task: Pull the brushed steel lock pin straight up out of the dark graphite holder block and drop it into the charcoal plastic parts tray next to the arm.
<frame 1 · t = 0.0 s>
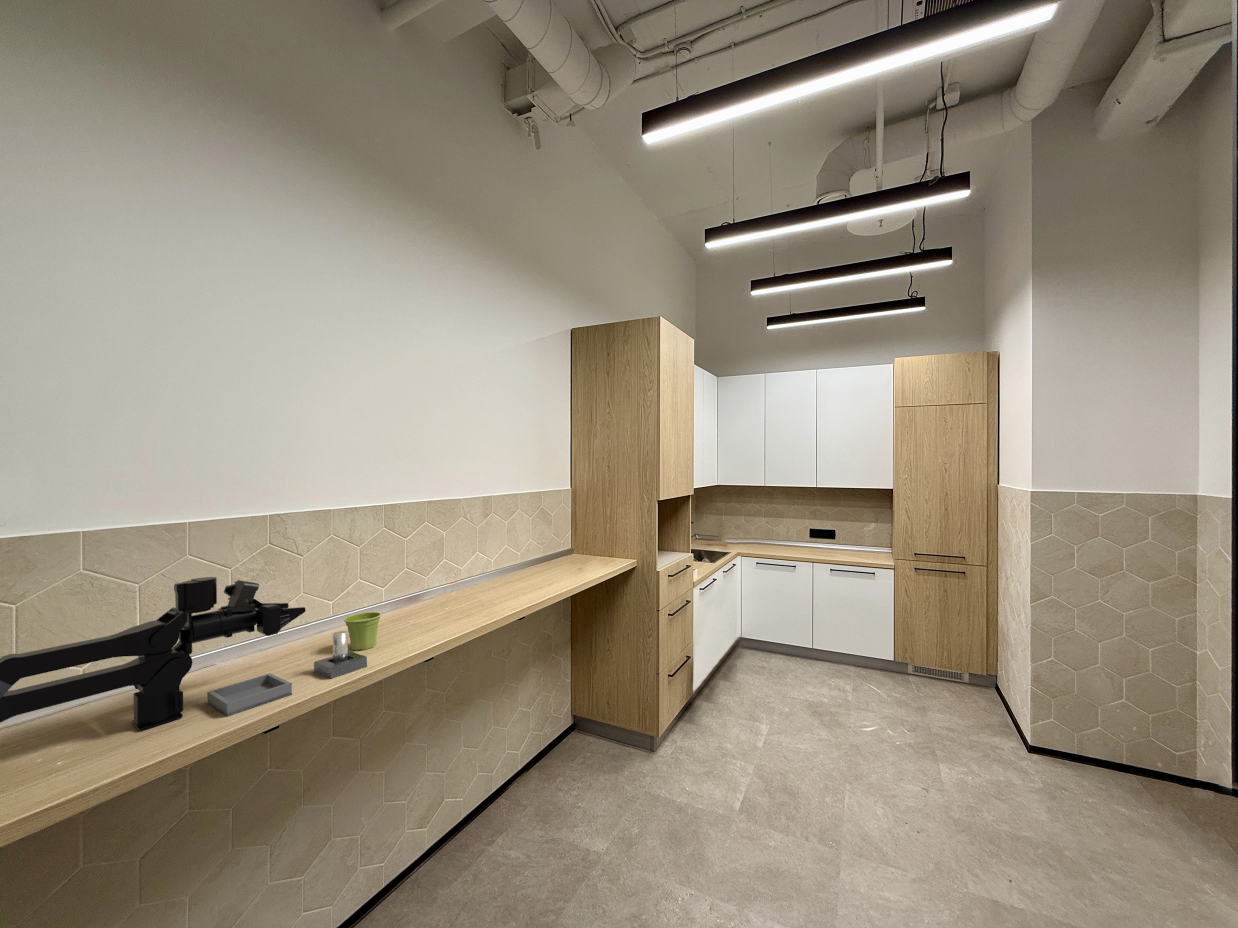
hand: (296, 607, 120), 17 cm above the worktop, tool horizontal, fingers open, 9 cm apart
parts tray: (250, 698, 107), on the worktop
plant pot: (363, 647, 139), on the worktop
lock pin: (340, 651, 123), in the pin holder
pin holder: (340, 669, 122), on the worktop
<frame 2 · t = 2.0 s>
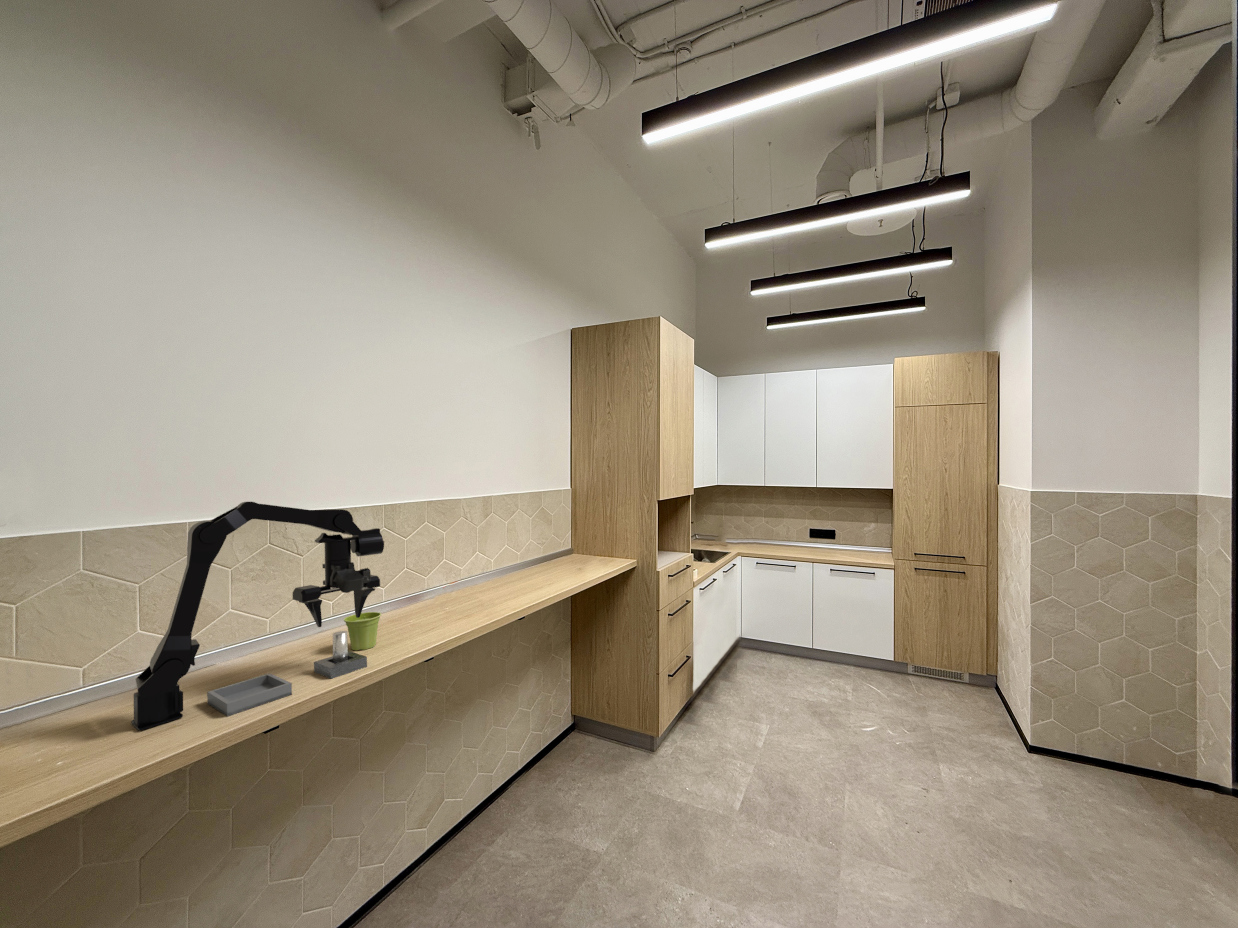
hand: (339, 622, 123), 12 cm above the worktop, tool pointing down, fingers open, 9 cm apart
nothing on the worktop moved.
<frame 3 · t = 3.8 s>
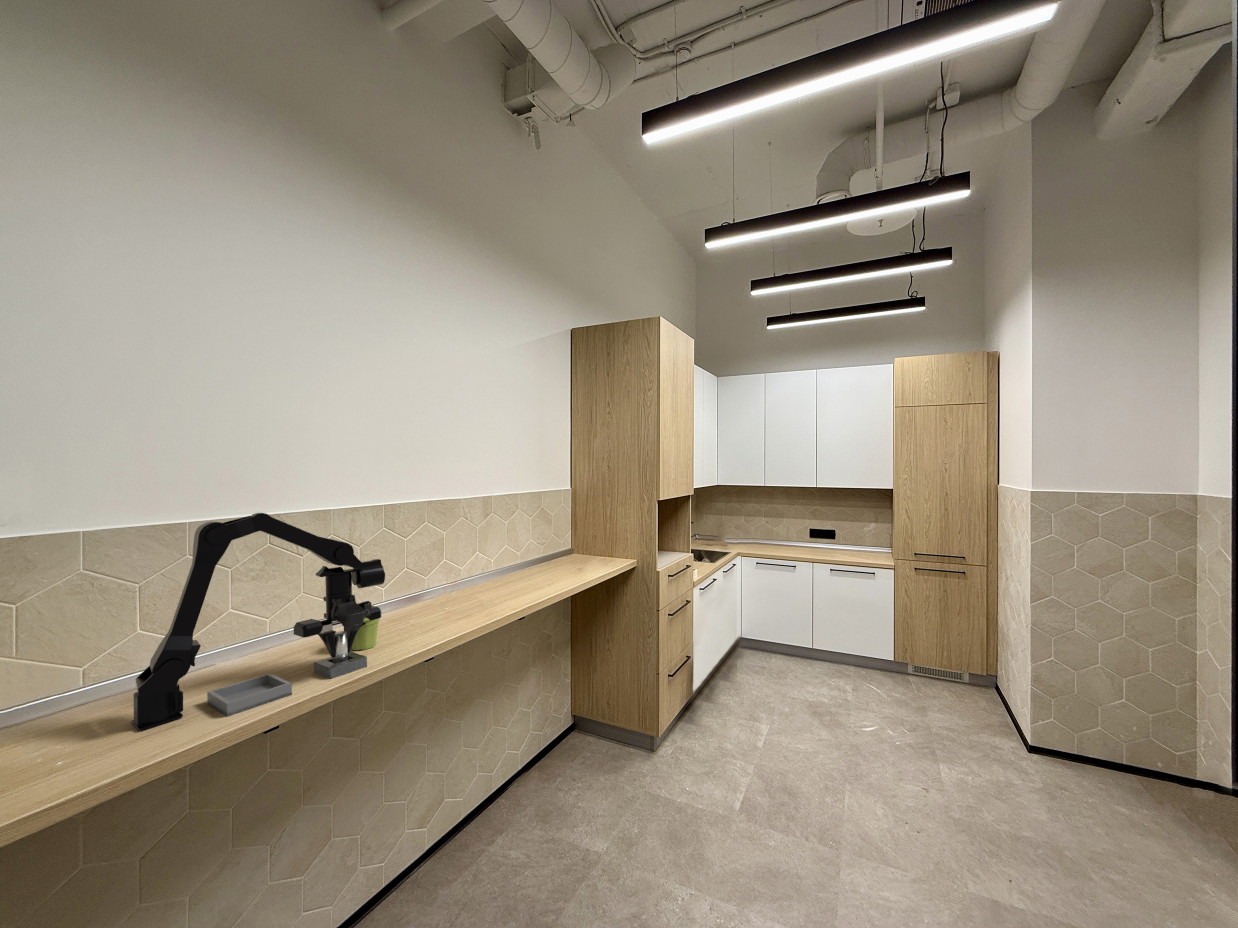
hand: (340, 654, 122), 4 cm above the worktop, tool pointing down, fingers closed on lock pin, 3 cm apart
lock pin: (340, 651, 123), in the pin holder, touching gripper
everything else where it was.
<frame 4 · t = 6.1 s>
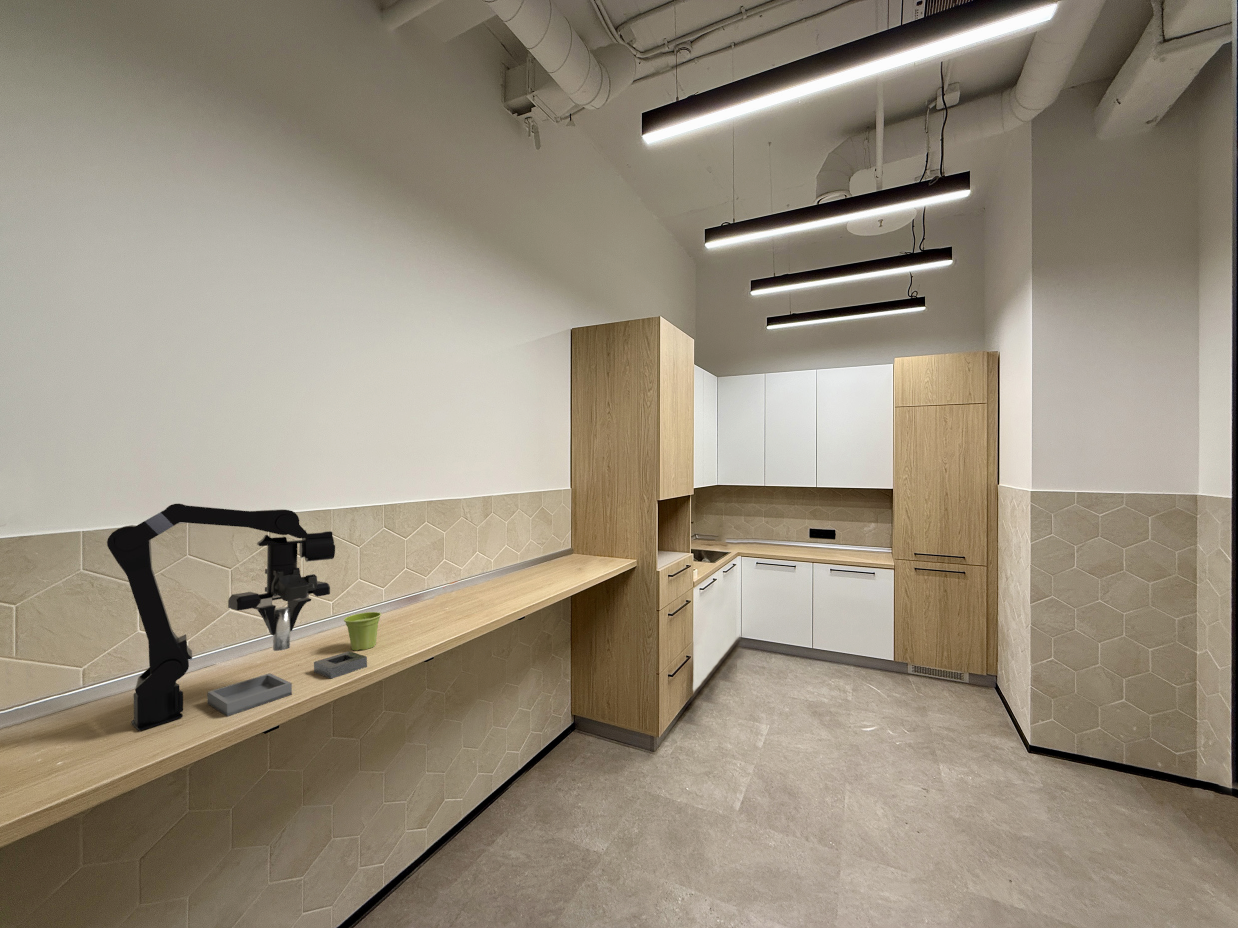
hand: (281, 632, 112), 12 cm above the worktop, tool pointing down, fingers closed on lock pin, 3 cm apart
lock pin: (281, 628, 112), point 14 cm above the worktop, touching gripper
everything else where it was.
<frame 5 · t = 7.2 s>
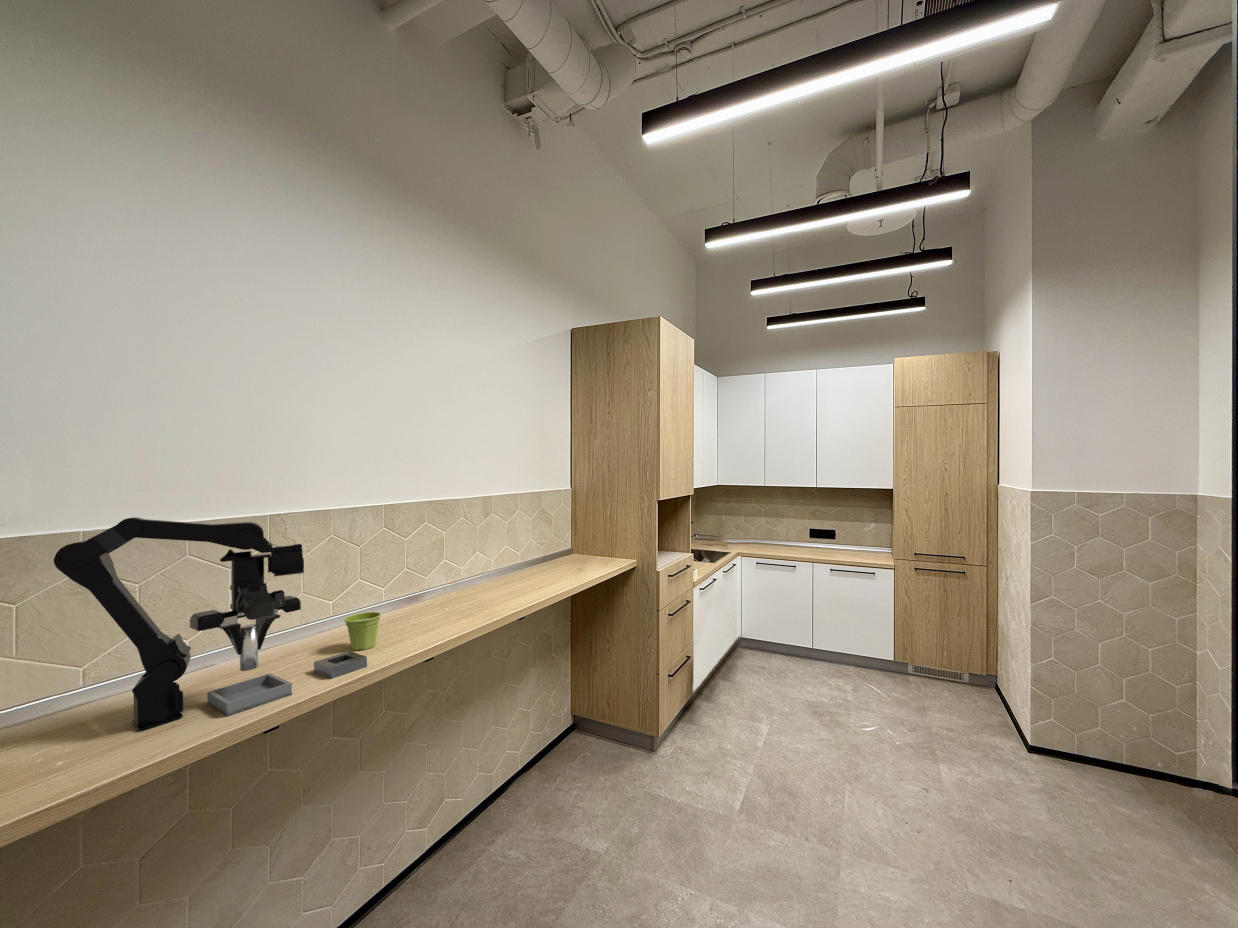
hand: (248, 651, 107), 10 cm above the worktop, tool pointing down, fingers closed on lock pin, 3 cm apart
lock pin: (248, 646, 107), point 11 cm above the worktop, touching gripper
everything else where it was.
when the fingers open (5 cm above the worktop, at t = 8.2 s): lock pin drops 1 cm, resting on parts tray.
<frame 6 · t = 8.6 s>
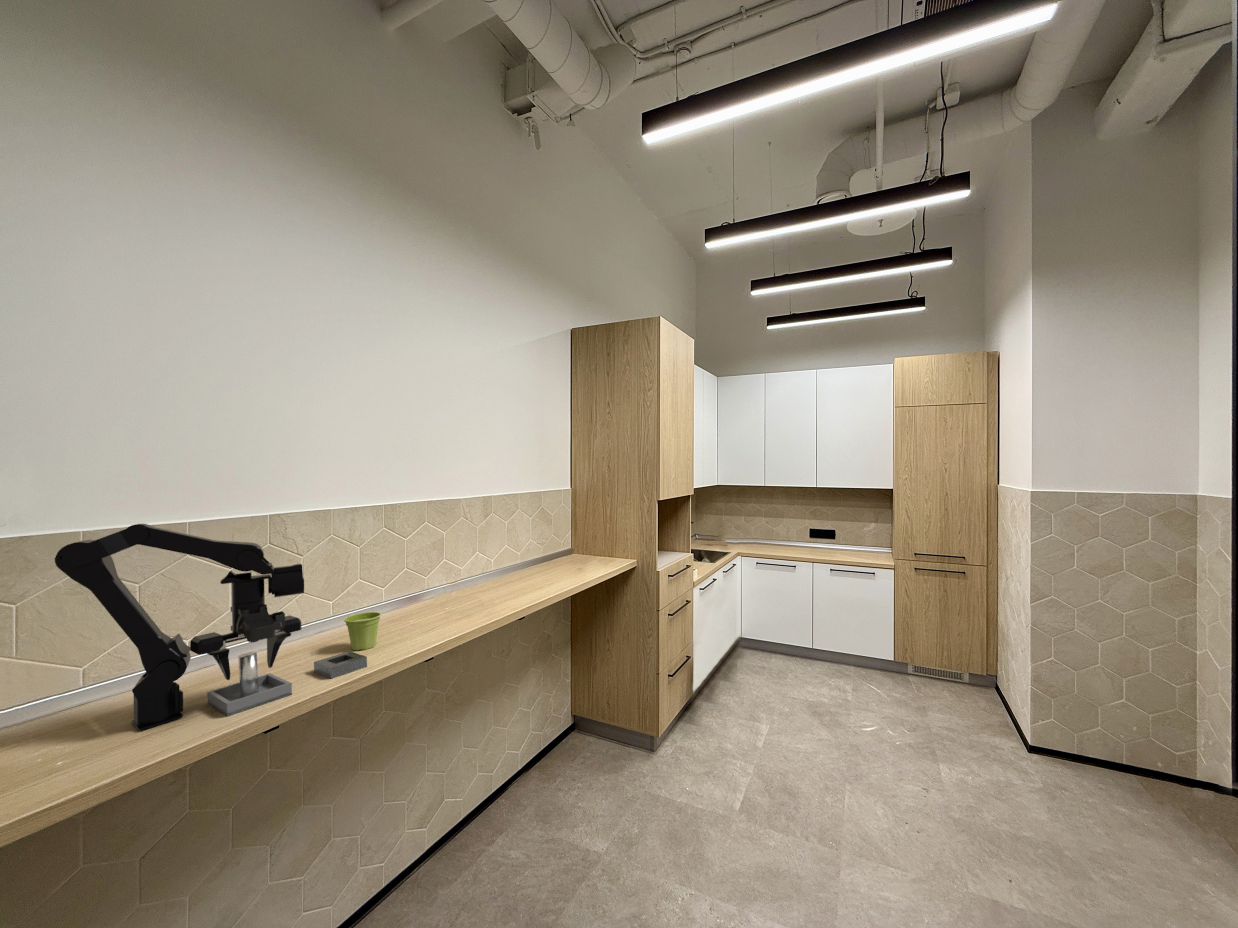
hand: (249, 673, 107), 5 cm above the worktop, tool pointing down, fingers open, 7 cm apart
lock pin: (248, 675, 107), in the parts tray, point 5 cm above the worktop
everything else where it was.
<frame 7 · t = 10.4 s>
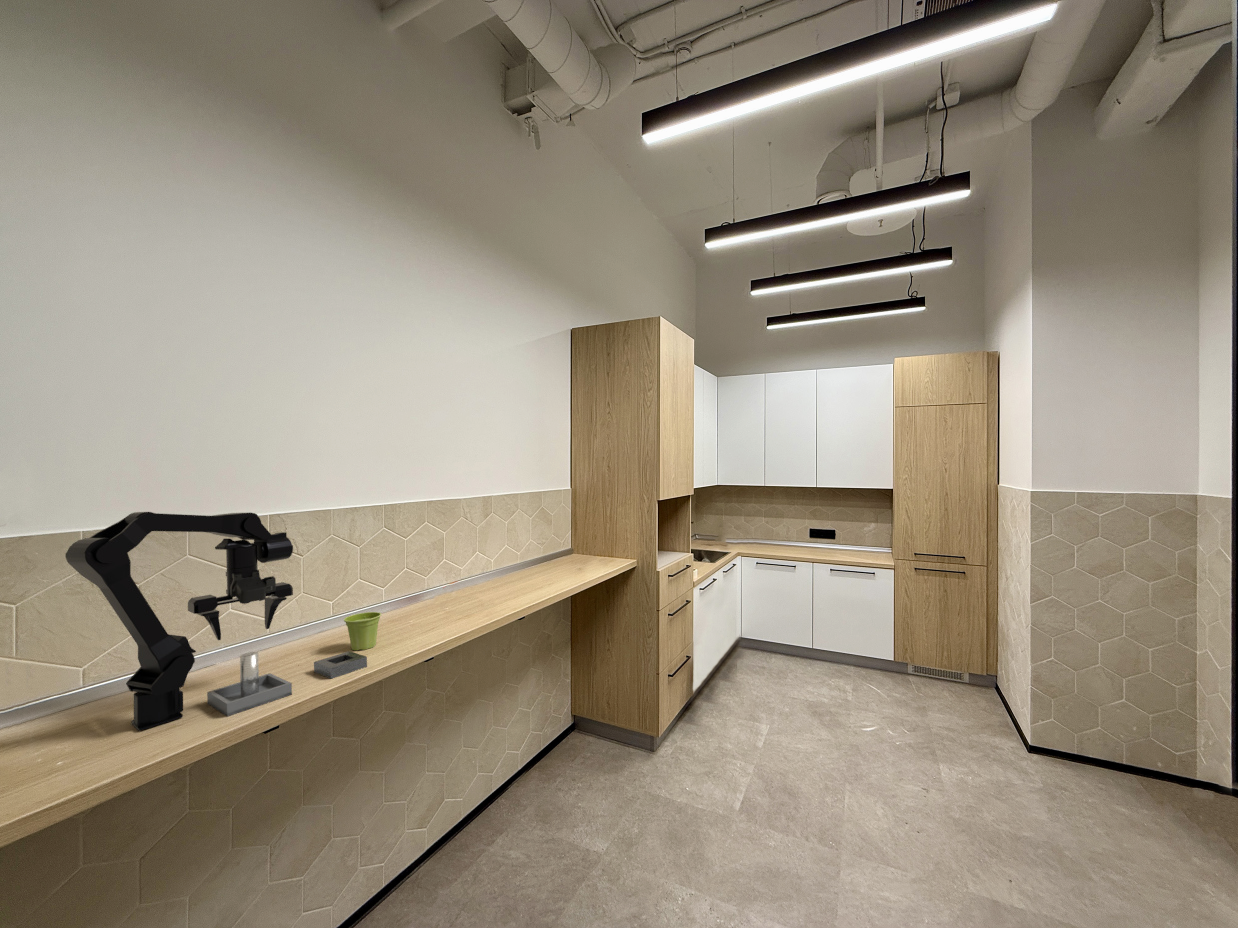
hand: (243, 634, 114), 12 cm above the worktop, tool pointing down, fingers open, 9 cm apart
nothing on the worktop moved.
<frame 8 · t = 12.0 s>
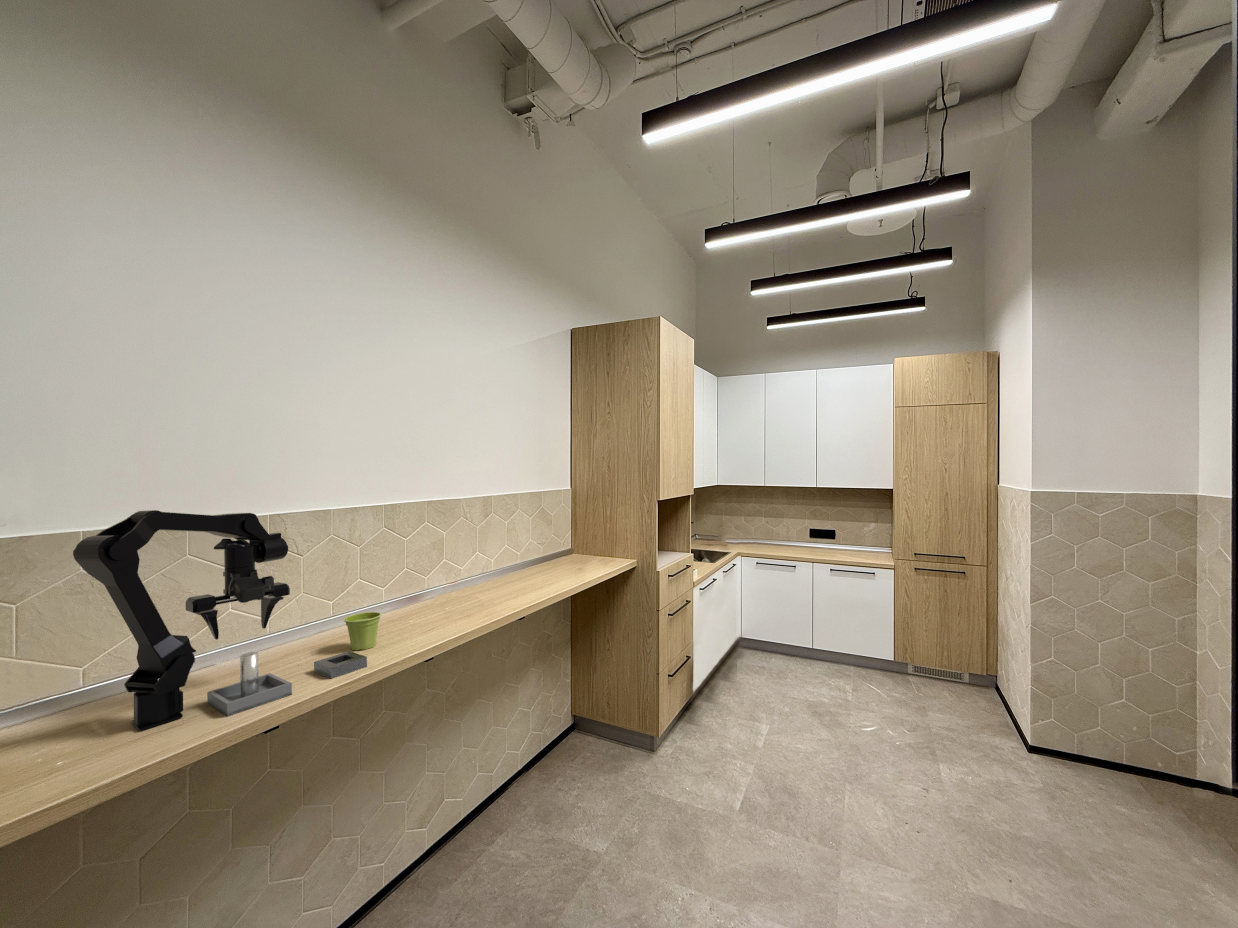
hand: (241, 633, 115), 12 cm above the worktop, tool pointing down, fingers open, 9 cm apart
nothing on the worktop moved.
at the end: lock pin inside the target area on the parts tray (0.0 cm from its centre), point 5.1 cm above the parts tray's base; lock pin moved 19.1 cm from its start; the gripper is holding nothing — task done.
